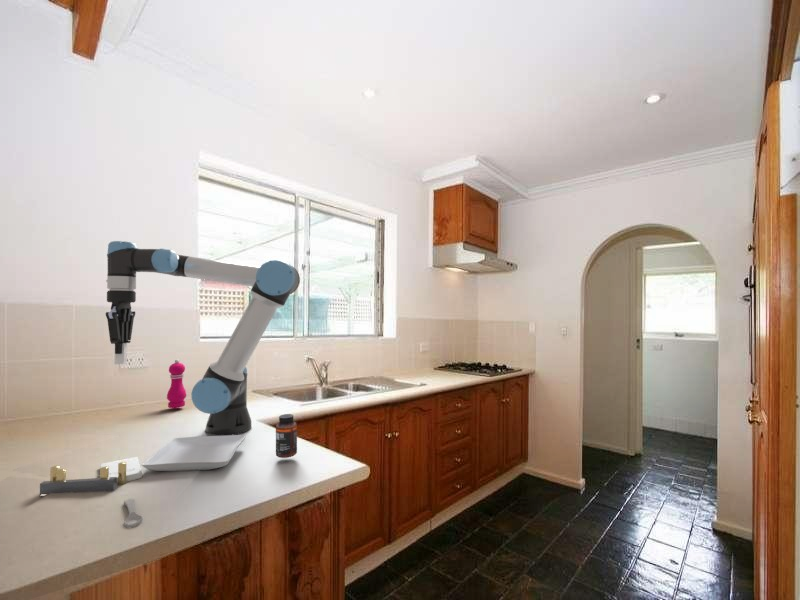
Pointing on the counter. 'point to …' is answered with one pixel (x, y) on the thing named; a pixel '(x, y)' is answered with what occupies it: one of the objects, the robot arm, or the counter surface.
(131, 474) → the external hard drive
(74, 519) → the counter surface
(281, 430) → the supplement bottle
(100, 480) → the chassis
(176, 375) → the pepper mill
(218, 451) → the salad plate
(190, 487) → the counter surface
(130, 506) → the spoon
